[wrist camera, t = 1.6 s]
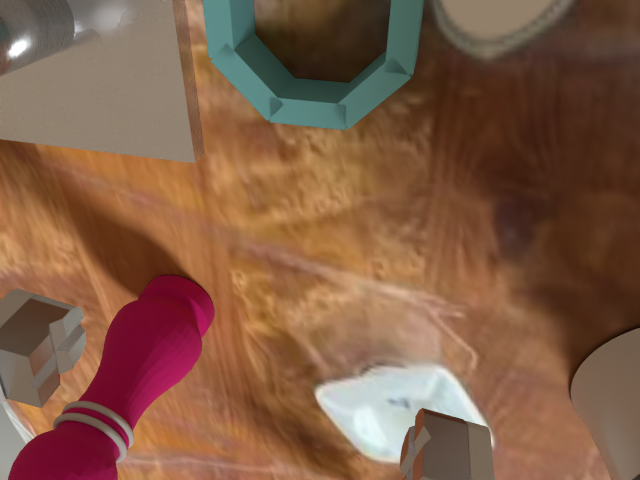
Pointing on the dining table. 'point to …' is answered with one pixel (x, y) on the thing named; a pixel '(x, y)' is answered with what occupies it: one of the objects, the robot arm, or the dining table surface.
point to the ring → (305, 94)
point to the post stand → (100, 77)
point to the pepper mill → (123, 384)
